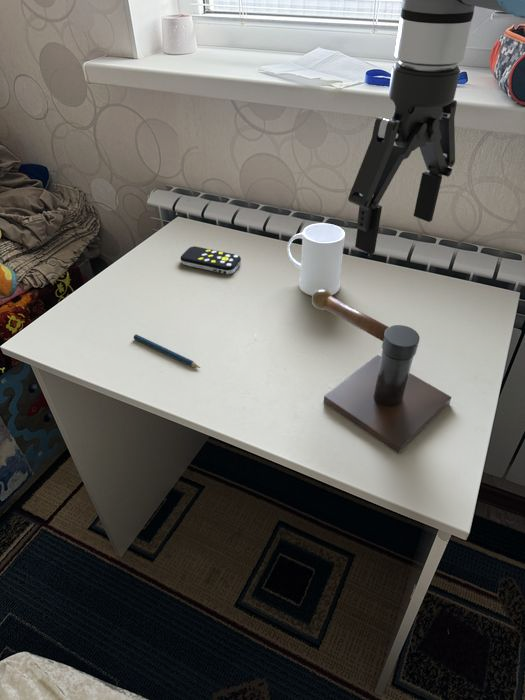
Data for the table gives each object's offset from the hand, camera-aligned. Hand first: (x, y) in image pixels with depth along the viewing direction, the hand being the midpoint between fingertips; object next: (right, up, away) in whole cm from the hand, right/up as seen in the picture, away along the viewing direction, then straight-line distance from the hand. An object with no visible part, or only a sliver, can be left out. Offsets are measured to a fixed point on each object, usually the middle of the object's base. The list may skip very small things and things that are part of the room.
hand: (395, 233), depth 71 cm
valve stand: (+1, -25, +8) cm, 26 cm away
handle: (-4, -13, +5) cm, 15 cm away
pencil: (-35, -17, +18) cm, 43 cm away
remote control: (-30, +2, +40) cm, 50 cm away
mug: (-8, -3, +34) cm, 35 cm away
